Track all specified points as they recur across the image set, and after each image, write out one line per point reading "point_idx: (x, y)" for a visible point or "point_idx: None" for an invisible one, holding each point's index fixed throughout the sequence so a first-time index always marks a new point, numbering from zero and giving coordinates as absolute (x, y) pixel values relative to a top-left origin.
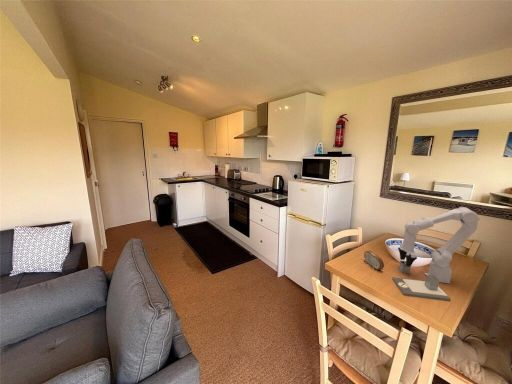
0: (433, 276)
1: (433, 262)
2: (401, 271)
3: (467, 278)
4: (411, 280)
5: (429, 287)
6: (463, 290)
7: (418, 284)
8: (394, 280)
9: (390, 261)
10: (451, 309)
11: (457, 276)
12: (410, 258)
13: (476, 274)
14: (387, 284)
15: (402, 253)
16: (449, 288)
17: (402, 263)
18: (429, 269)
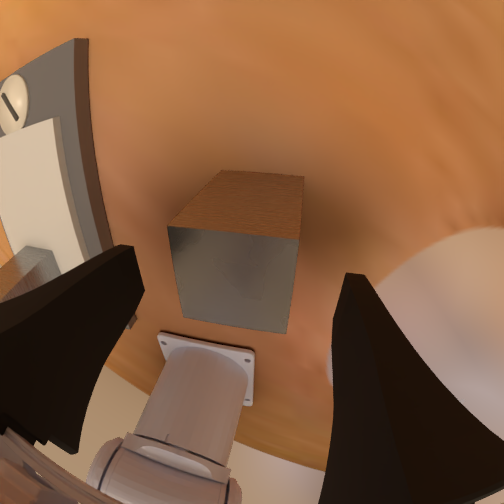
0: None
1: (163, 459)
2: (230, 174)
3: (250, 438)
4: (57, 187)
5: (17, 255)
6: (144, 384)
7: (38, 214)
8: (47, 53)
9: (474, 184)
10: (3, 255)
11: (259, 430)
12: (42, 374)
13: (284, 457)
14: (36, 12)
15: (357, 407)
16: (130, 355)
17: (200, 225)
18: (196, 396)
